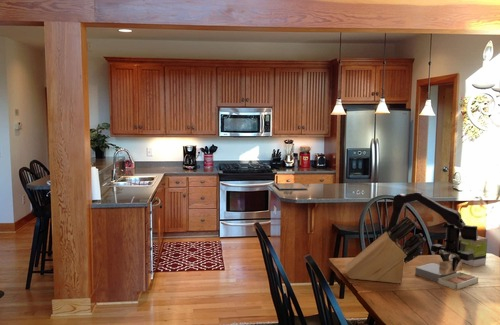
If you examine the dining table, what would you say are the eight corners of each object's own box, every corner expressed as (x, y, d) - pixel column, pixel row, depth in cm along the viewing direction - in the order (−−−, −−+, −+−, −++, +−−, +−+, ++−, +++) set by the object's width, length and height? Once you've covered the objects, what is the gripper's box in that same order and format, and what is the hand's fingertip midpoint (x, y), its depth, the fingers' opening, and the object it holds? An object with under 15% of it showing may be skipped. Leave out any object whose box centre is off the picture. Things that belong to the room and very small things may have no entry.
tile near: (448, 279, 194) (448, 283, 194) (458, 283, 189) (458, 287, 189) (454, 277, 196) (454, 281, 196) (464, 281, 192) (464, 285, 192)
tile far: (457, 276, 197) (457, 281, 197) (467, 278, 193) (467, 282, 193) (462, 274, 200) (463, 279, 200) (473, 276, 196) (473, 280, 196)
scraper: (445, 274, 194) (445, 264, 193) (439, 273, 196) (439, 262, 196) (461, 270, 201) (462, 259, 201) (455, 268, 204) (456, 258, 204)
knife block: (424, 286, 190) (427, 220, 188) (345, 279, 198) (347, 215, 196) (419, 278, 201) (423, 215, 199) (345, 271, 209) (347, 210, 207)
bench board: (439, 282, 196) (439, 275, 196) (415, 274, 207) (415, 267, 207) (456, 277, 204) (456, 270, 204) (431, 269, 215) (432, 262, 214)
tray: (456, 290, 187) (456, 284, 187) (438, 283, 195) (438, 278, 194) (477, 282, 197) (478, 277, 197) (459, 276, 205) (459, 271, 204)
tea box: (449, 258, 233) (450, 232, 232) (461, 256, 238) (463, 231, 236) (473, 267, 220) (475, 239, 218) (486, 264, 224) (488, 237, 223)
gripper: (481, 239, 194) (479, 272, 196) (443, 231, 210) (442, 261, 211) (468, 243, 188) (466, 276, 189) (430, 234, 204) (428, 265, 205)
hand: (450, 269), depth 199 cm, fingers closed on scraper, 3 cm apart
